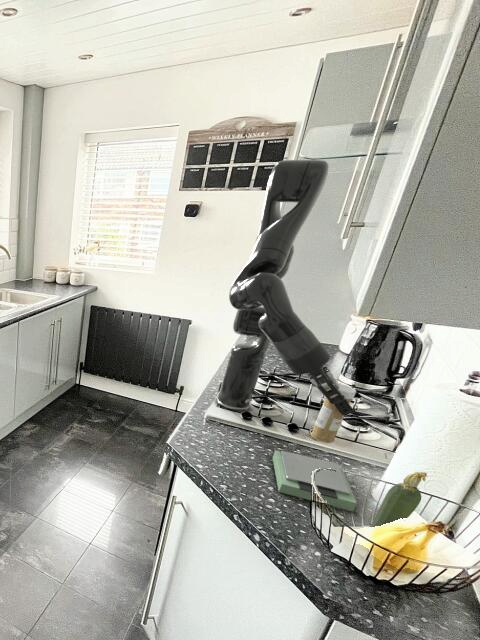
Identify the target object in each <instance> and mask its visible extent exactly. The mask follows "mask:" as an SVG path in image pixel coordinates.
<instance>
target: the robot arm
mask: <svg viewBox="0 0 480 640" xmlns="http://www.w3.org/2000/svg"><path fill="white" fill-rule="evenodd" d="M329 167H330V166H329V162H328V161H327V160H323V159H285V160H280V161H278V162H277V163H276V164H275V165H273V168H272V170H271V172H270V175H269V178H268V181H267V185H266V191H265V195H264V196H265V197H264V202H263V208H262V213H261V220H260V223H259V228H258V232H257V235H256V239H255V243H254V246H253V249H252V252H251V255H250V257H249V260H248V261H247V263H246V264H245V266H243V268H241V271H240V272H239V274H238V275H237V277H235V279H234V281H233V282H232V284H231V285H230V289H229V294H228V300H229V303H230V305H231V306H232V307H233V308H234V309H235V310H236V313H235V316H234V320H233V326H232V329H233V332H234V334H237V335H241V336H246V337H251V338H257V339H256V340H254V341H250V342H243V343H237V344H234V345H233V346H232V347H231V349H230V354H229V358H228V359H227V360H228V361H227V364H226V368H225V371H224V374H223V379H222V382H219V386H218V389H217V392H218V395H217V398H216V403H217V404H218V405H219V406H221V407H222V408H225V409H226V410H227V409H228V410H231V411H238V412H243V411H248V410H249V409H250V404H251V402H252V401H253V399H254V398H253V396H254V392H255V389H256V387H257V384H258V383H257V382H258V380H259V376H260V374H261V370H262V367H263V364H264V362H265V358H266V355H267V351H268V348H269V345H270V343H271V345H272V347H273V348H274V350H275V351H276V353H277V354H278V355H279V356H280V358H281V359H282V360H283V361H284V363H285V364H286V365H287V367H288V368H289V370H290V371H291V372H292V374H294V375H304V374H307V377H308V379H309V381H310V382H311V384H312V385H314V386H315V387H316V388H317V390H318V391H319V393H320V394H321V395H323V396H325V399H326V398H327V399H328V400H329V402H330V403H331V404H334V405H335V406H336V408H337V409H338V410H339V412H340V413H341V414H342V415H343V416H344V417H346V416H348V415H351V414H353V413H354V412H355V410H354V409H353V407H352V406H351V404H349V403H348V402H347V401H346V399H345V396H344V395H342V393H341V392H340V391H339V388H340V386H339V385H338V384H339V383H338V382H337V380H336V378H335V376H334V375H333V373H332V372H331V369H330V368H329V367H328V366H327V365H326V364H328V362H329V361H330V360H331V354H330V353H329V352H328V351H327V349H326V348H325V346H324V345H323V344H322V343H321V341H320V340H319V339H318V338H317V337H316V335H315V334H314V333H313V331H312V330H311V329H310V328H308V327H307V325H305V323H304V322H303V321H302V320H301V318H300V317H299V316H298V314H297V313H296V312H295V310H294V309H293V306H292V303H291V300H290V297H289V295H288V292H287V288H286V286H285V283H284V282H283V280H282V279H283V278H284V277H285V276H286V275H287V273H288V271H289V268H290V265H291V262H292V259H293V256H294V252H295V246H294V242H295V241H296V238H297V236H298V234H299V232H300V231H301V229H302V227H303V226H304V224H305V222H306V221H307V219H308V217H309V215H310V214H311V212H312V210H313V208H314V207H315V204H316V203H317V201H318V199H319V197H320V196H321V194H322V191H323V189H324V187H325V184H326V181H327V177H328V174H329V169H330V168H329ZM281 203H292V204H293V203H295V204H296V205H294V207H292V208H291V209H290V210H289V211H288V212H287V213H285V214H284V215H282V214H281ZM333 384H334V385H335V386H334V385H333ZM335 394H338V395H337V396H334V397H332V398H331V397H330V396H333V395H335Z"/></svg>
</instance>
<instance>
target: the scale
mask: <svg viewBox="0 0 480 640" xmlns="http://www.w3.org/2000/svg"><path fill="white" fill-rule="evenodd" d="M280 452H281V451H280V450H274V452H273V455H272V464H273V467H274V473H275V478H276V479H275V480H276V485H277V491H278V493H281V494H284V495H289V496H293V497H296V498H299V499H304V500H308V501H311V492H312V491H311V486H310V485H306V484H302V483H297V482H293V481H289V480H286V478H285V473H284V469H283V464H282V459H281V455H280ZM338 465H339V464H338ZM339 467H340V470H341V472H342V475H343V477H344V479H345V482H346V484H347V487H348V489H349V491H350V495H349V496H348V495H344V494H340V493H336V492H333V491H329V490H325V489H322V488H318V490H319V492H320V493H321V495H322V496H323V498H324V499H326V500H327V503H329V504H331V505H332V506H331V507H334V508H338V509H341V510H345V511H349V512H354V511H355V509H356V506H357V504H358V503H357V500H356V498H355V495H354V493H353V491H352V487H351V486H350V483H349V480H348V478H347V476H346V473H345V471H344V469H343V467H342V465H339ZM332 501H333V502H332Z"/></svg>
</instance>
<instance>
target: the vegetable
mask: <svg viewBox="0 0 480 640" xmlns="http://www.w3.org/2000/svg"><path fill="white" fill-rule="evenodd" d="M428 477H429V476H428V475H427V472H423V471H414V473H411V474H408V475H406V476H405V477H404V479H403V482H400V483H396V484H394V485H393V486H391V488H390V489H388V491H387V492H386V494H385V496H384V498H383V500H382V502H381V504H380V507H379V509H378V510H377V512H376V515H375V516H374V518H373V520H372V521H371V523H370V525H369V526H368V528H369V527H375V526H381V525H383V524H386V523H390V522H393V521H395V520H398V519H400V518H402V519H403V518H407V519H408V518H410V516H411V515H412V514H413V513H414V511H415V510H416V509H417V508H418V506H419V505H420V503H421V501H422V493H421V491H420V490H419V488H418V487H419V485H420V483H421V482H422V481H423V482H426V480H427V478H428Z"/></svg>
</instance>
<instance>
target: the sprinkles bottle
mask: <svg viewBox="0 0 480 640" xmlns="http://www.w3.org/2000/svg"><path fill="white" fill-rule="evenodd" d="M337 384H338V385H339V386H340V388H339V391H340V392H341V393H342V395H344V396H345V399H346V401H347V402H348V403H349V405H351V401H352V400H353V399H354V398H355V395H356V394H357V390H356V389H355V388H354V387H351V386H349V385H346V384H342V383H337ZM333 385H334V384H333ZM334 386H335V385H334ZM337 395H338V394H335V395H333V396H330V397H331V398H332V397H334V396H337ZM344 418H345V416H343V415H342V414H341V413H340V412H339V410H338V409H337V408H336V406H335V405H334V404H331V403H330V402H329V400H328V399H327V398H326V397H325V399H324V401H323V404H322V406H321V408H320V410H319V413H318V415H317V418H316V421H315V423H314V425H313V429H312V431H311V432H310V433H309V435H310V437H311V438H312V439H314V440H315V441H318V442H321V443H326V444H332V443H334V441H335V438H336V436H337V434H338V431H339V430H340V427H341V425H342V422H343V421H344Z"/></svg>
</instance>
